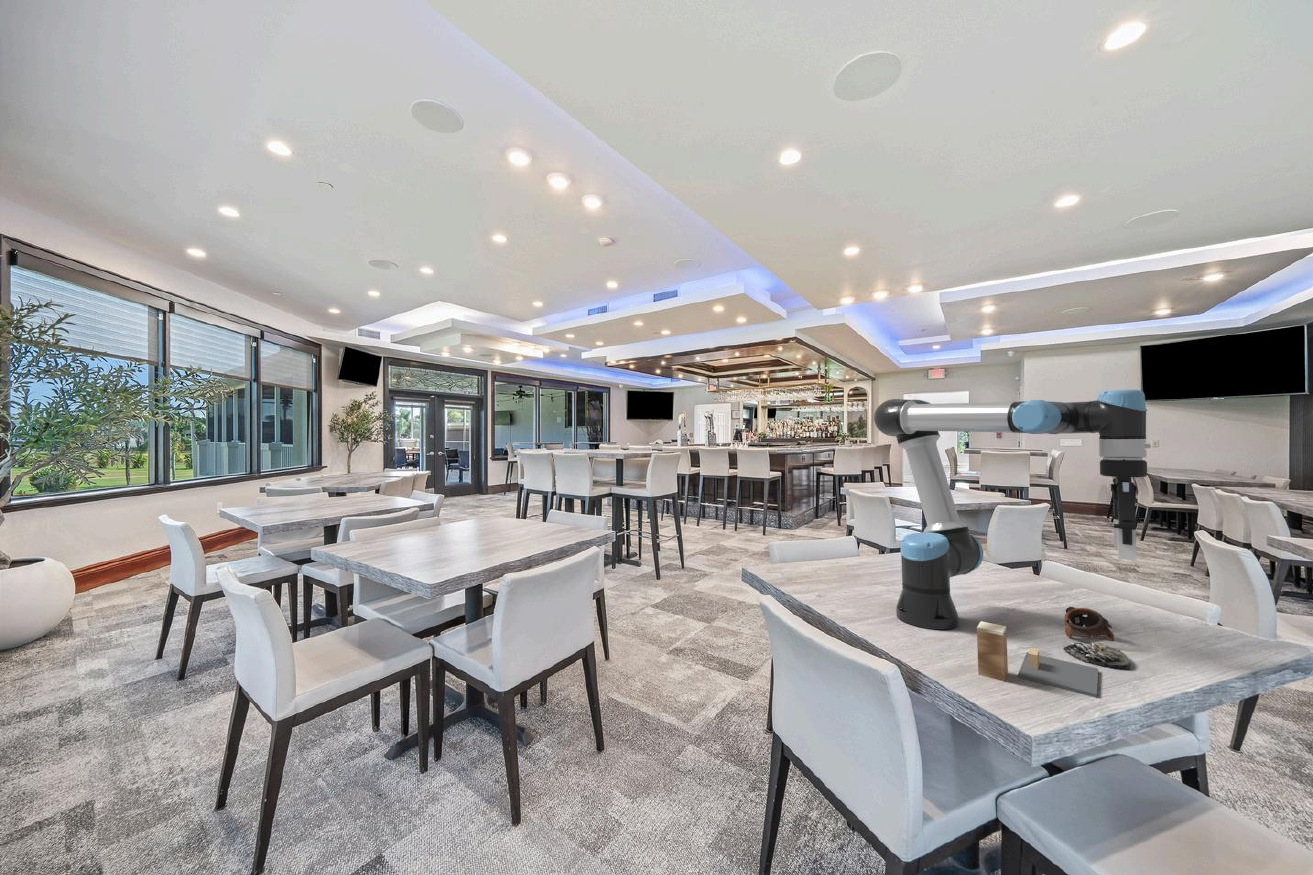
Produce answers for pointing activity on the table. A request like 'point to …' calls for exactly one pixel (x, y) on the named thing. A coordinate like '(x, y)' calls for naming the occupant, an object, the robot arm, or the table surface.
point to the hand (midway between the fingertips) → (1124, 553)
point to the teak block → (992, 651)
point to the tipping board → (1059, 673)
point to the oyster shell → (1099, 655)
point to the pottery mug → (1086, 623)
